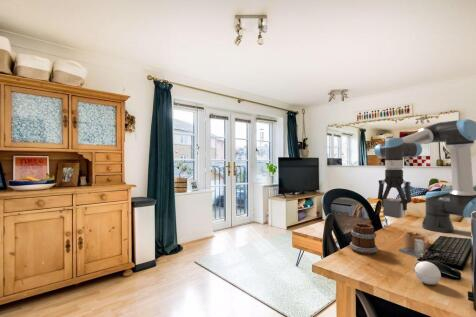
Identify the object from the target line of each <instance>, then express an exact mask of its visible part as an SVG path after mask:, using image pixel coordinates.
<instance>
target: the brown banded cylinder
mask: <svg viewBox="0 0 476 317" xmlns="http://www.w3.org/2000/svg"><path fill="white" fill-rule="evenodd" d="M372 222H373V221H372V220H370V219H369V220H367V222H366V223H360V222H359V223H357V222H356V223H353V225H352V229H351V231H350V232H351V233H350V235H352V238H351V239H352V240H351V242H349V247H350V249H352V250H353V251H352V250H351V251H352V252H354V253H356V252H357V253H356V254H359V255H363V254H364V256H371V255H375V254H376V253H377V251H378V249H379V247H378V246H377V245H376V241H375V238H377V234H376V232H375V227H374V226H373V225H372Z"/></svg>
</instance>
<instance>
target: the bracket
mask: <svg viewBox="0 0 476 317" xmlns="http://www.w3.org/2000/svg"><path fill="white" fill-rule="evenodd" d="M415 239H419V240H423V241H424V249H426V248H428V246H429V243H430V242H429V239H428V238H427V237H425V235H424V234H423V233H419V232H415V233H414V232H413V231H404V232H403V248H406V247H412V248H415ZM426 250H427V249H426Z"/></svg>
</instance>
